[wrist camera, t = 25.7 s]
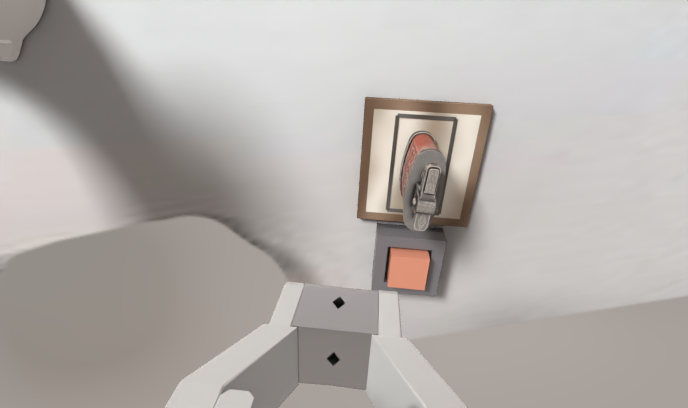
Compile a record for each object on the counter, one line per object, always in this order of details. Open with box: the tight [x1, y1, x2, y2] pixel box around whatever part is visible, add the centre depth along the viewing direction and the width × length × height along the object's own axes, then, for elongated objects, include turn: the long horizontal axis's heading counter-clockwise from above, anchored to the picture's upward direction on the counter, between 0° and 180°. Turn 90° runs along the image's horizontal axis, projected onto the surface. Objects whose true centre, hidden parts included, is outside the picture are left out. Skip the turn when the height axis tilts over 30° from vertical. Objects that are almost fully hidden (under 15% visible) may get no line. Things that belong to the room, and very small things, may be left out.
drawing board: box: [357, 97, 493, 227], centre depth 39 cm, size 13×14×1 cm
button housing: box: [372, 223, 447, 296], centre depth 44 cm, size 8×8×3 cm
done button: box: [387, 247, 430, 290], centre depth 42 cm, size 4×4×3 cm
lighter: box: [399, 130, 446, 231], centre depth 34 cm, size 8×3×10 cm, turn 174°
